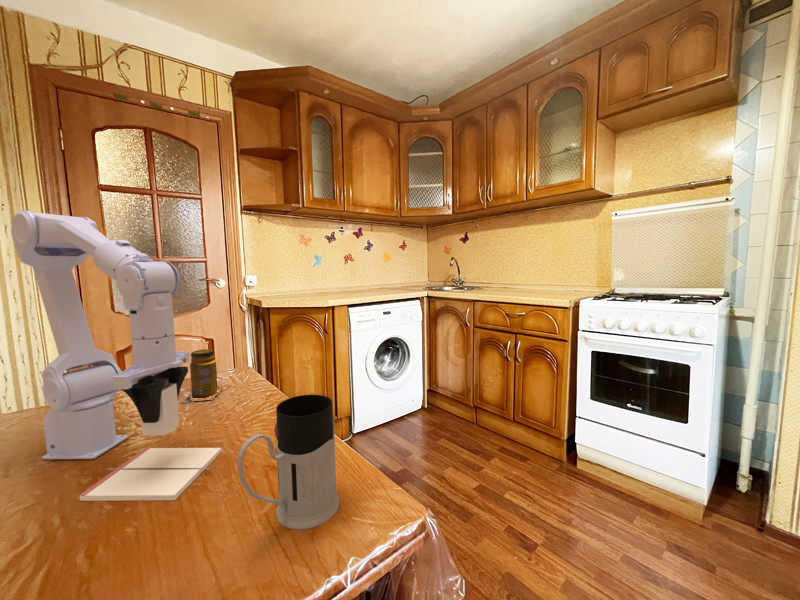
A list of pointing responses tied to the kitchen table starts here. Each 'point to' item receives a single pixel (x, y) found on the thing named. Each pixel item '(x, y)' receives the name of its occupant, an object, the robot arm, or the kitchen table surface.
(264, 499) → the glass holder
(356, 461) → the kitchen table surface
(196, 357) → the condiment
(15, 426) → the kitchen table surface
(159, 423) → the white bottle
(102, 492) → the notepad
